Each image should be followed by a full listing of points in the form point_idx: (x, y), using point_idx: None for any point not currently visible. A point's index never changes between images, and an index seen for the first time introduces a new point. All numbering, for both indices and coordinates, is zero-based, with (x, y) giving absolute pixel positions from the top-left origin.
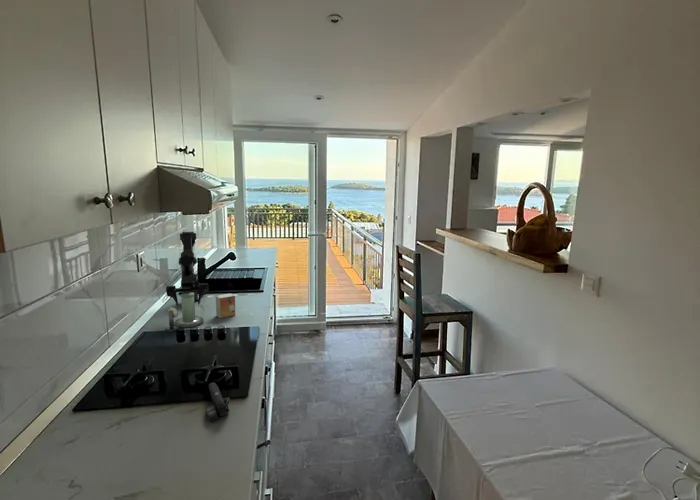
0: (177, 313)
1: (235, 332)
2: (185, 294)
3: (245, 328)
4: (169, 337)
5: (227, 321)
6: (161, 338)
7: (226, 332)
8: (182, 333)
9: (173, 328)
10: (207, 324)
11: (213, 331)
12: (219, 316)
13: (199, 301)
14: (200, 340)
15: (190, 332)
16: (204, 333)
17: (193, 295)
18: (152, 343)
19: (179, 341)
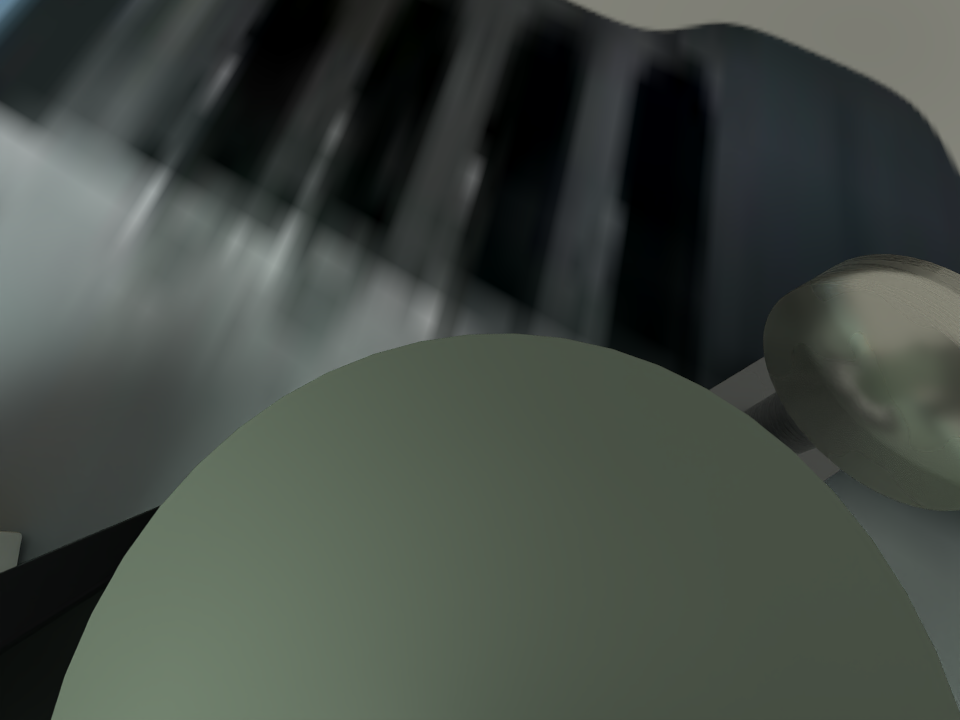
0: (785, 296)
1: (149, 27)
2: (664, 707)
3: (9, 66)
4: (784, 221)
5: (22, 363)
6: (870, 236)
7: (220, 66)
8: (637, 260)
9: (744, 398)
10: (286, 394)
11: (318, 148)
12: (1, 568)
13: (152, 510)
14: (505, 17)
15: (548, 243)
16: (420, 144)
17: (248, 453)
18: (952, 158)
19: (691, 82)
